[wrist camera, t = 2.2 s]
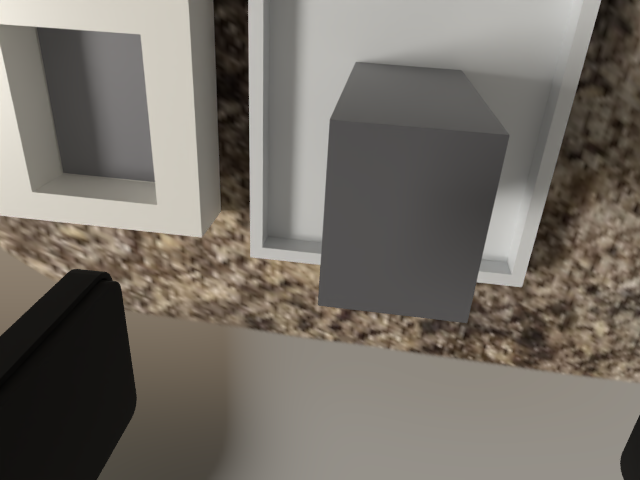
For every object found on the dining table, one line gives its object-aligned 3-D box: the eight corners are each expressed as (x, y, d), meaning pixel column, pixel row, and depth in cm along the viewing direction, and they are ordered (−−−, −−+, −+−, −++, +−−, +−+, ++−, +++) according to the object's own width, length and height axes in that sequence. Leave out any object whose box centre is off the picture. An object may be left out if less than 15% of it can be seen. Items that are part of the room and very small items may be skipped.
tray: (590, -24, 20) (608, -24, 18) (513, 268, 26) (521, 287, 24) (258, -44, 21) (248, -46, 19) (258, 240, 27) (250, 257, 25)
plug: (461, 69, 21) (509, 135, 13) (439, 195, 24) (467, 322, 15) (355, 62, 22) (329, 119, 13) (345, 186, 24) (317, 305, 15)
